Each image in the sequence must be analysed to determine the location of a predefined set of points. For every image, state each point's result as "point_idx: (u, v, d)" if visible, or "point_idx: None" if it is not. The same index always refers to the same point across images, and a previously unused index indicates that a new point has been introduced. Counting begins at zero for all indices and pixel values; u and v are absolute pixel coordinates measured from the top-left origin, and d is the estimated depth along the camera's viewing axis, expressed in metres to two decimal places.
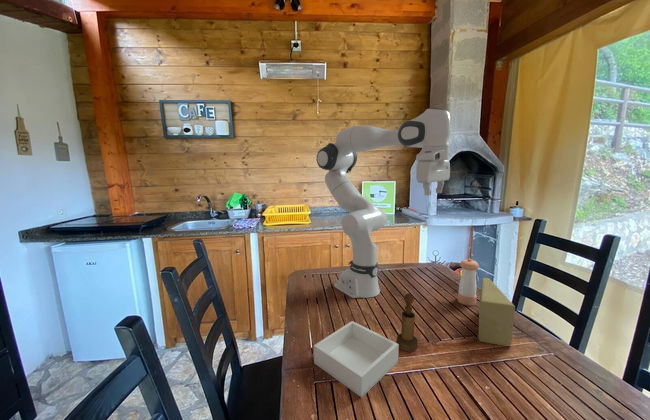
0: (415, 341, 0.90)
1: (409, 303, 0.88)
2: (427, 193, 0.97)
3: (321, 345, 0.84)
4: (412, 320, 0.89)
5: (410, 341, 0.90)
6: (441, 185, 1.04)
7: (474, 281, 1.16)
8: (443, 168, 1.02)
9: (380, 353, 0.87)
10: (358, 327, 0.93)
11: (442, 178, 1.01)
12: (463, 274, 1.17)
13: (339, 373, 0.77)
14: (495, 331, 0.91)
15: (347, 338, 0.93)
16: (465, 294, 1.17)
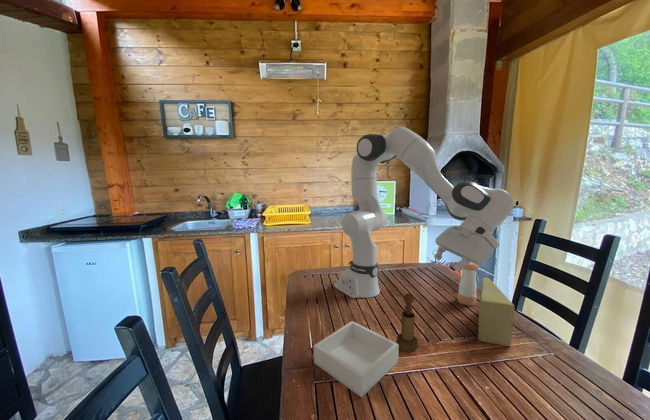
0: (415, 341, 0.90)
1: (409, 303, 0.88)
2: (458, 268, 0.85)
3: (321, 345, 0.84)
4: (412, 320, 0.89)
5: (410, 341, 0.90)
6: (441, 252, 0.95)
7: (474, 281, 1.16)
8: None
9: (380, 353, 0.87)
10: (358, 327, 0.93)
11: None
12: (463, 274, 1.17)
13: (339, 373, 0.77)
14: (494, 330, 0.91)
15: (347, 338, 0.93)
16: (465, 294, 1.17)
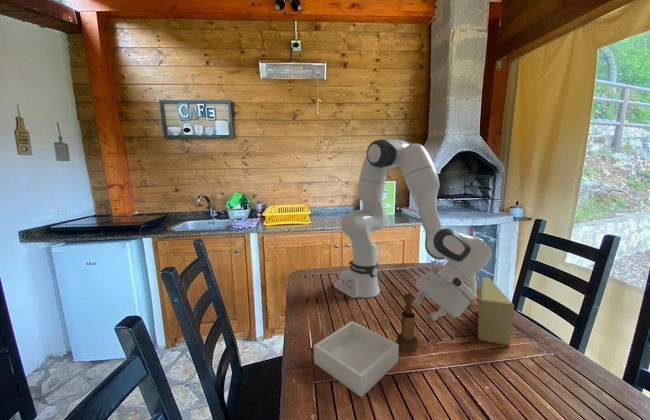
0: (415, 341, 0.90)
1: (409, 303, 0.88)
2: (435, 318, 0.86)
3: (321, 345, 0.84)
4: (412, 320, 0.89)
5: (410, 341, 0.90)
6: (421, 297, 0.97)
7: (474, 281, 1.16)
8: None
9: (380, 353, 0.87)
10: (358, 327, 0.93)
11: None
12: None
13: (339, 373, 0.77)
14: (494, 329, 0.91)
15: (347, 338, 0.93)
16: None
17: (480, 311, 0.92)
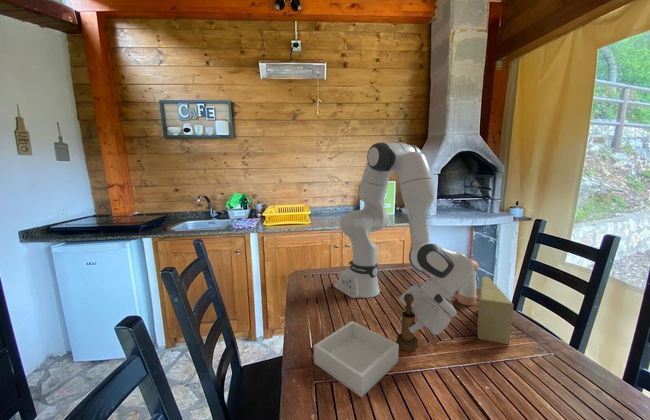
0: (415, 341, 0.90)
1: (409, 303, 0.88)
2: (413, 331, 0.88)
3: (321, 345, 0.84)
4: (412, 320, 0.89)
5: (410, 341, 0.90)
6: None
7: (474, 281, 1.16)
8: None
9: (380, 353, 0.87)
10: (358, 327, 0.93)
11: None
12: None
13: (339, 373, 0.77)
14: (493, 329, 0.92)
15: (347, 338, 0.93)
16: (465, 294, 1.17)
17: (480, 310, 0.93)
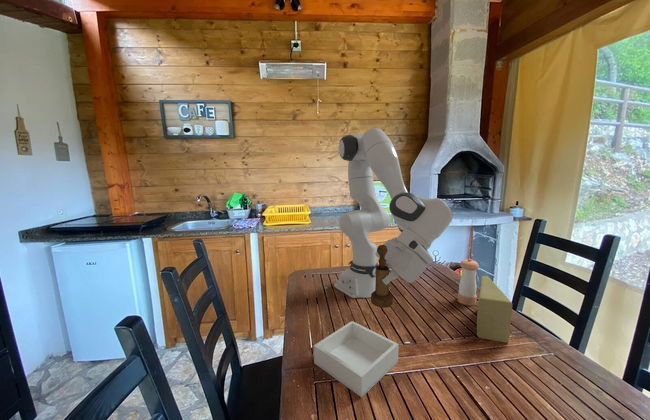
0: (390, 296, 0.83)
1: (382, 254, 0.81)
2: (386, 282, 0.80)
3: (321, 345, 0.84)
4: (386, 273, 0.81)
5: (385, 296, 0.82)
6: None
7: (474, 281, 1.16)
8: None
9: (380, 353, 0.87)
10: (358, 327, 0.93)
11: None
12: (463, 274, 1.17)
13: (339, 373, 0.77)
14: (492, 327, 0.93)
15: (347, 338, 0.93)
16: (465, 294, 1.17)
17: (479, 309, 0.94)
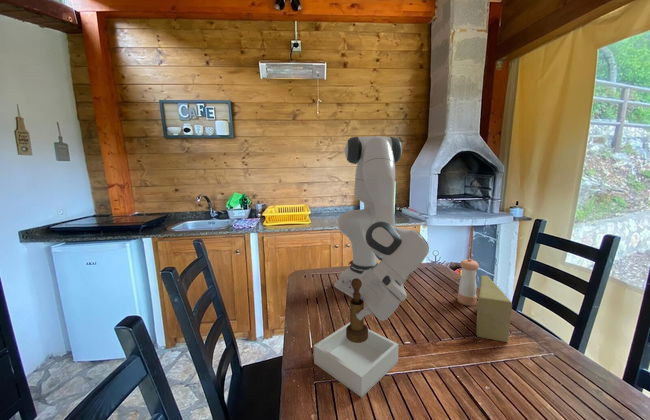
0: (365, 331, 0.81)
1: (356, 289, 0.79)
2: (360, 317, 0.78)
3: (321, 345, 0.84)
4: (360, 308, 0.80)
5: (359, 331, 0.80)
6: None
7: (474, 281, 1.16)
8: None
9: (380, 353, 0.87)
10: None
11: None
12: (463, 274, 1.17)
13: (339, 373, 0.77)
14: (492, 327, 0.93)
15: None
16: (465, 294, 1.17)
17: (478, 308, 0.94)
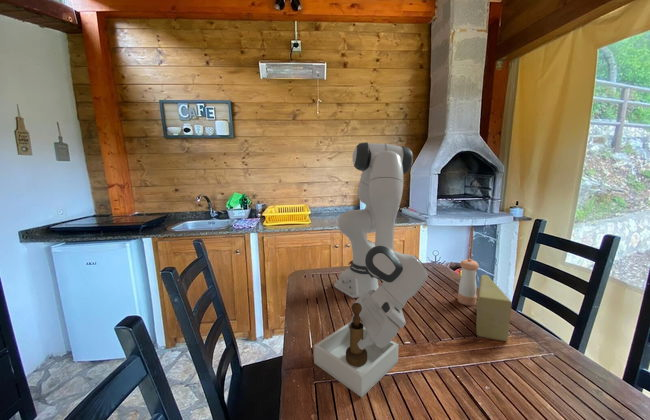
0: (364, 355, 0.82)
1: (356, 313, 0.81)
2: (362, 347, 0.78)
3: (321, 345, 0.84)
4: (360, 332, 0.81)
5: (359, 354, 0.82)
6: None
7: (474, 281, 1.16)
8: None
9: (380, 353, 0.87)
10: None
11: None
12: (463, 274, 1.17)
13: (339, 373, 0.77)
14: (492, 326, 0.94)
15: (347, 338, 0.93)
16: (465, 294, 1.17)
17: (478, 308, 0.95)
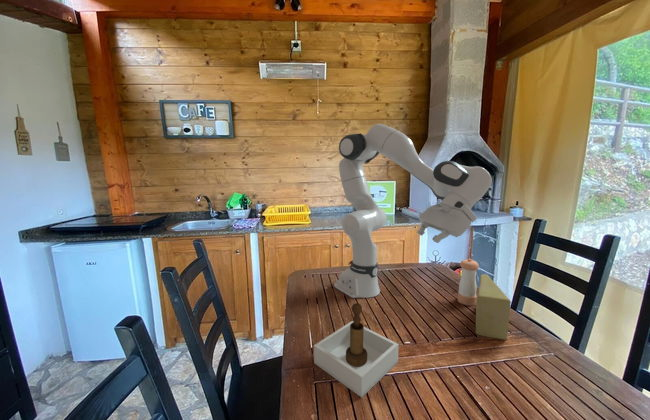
0: (364, 355, 0.82)
1: (357, 314, 0.81)
2: (438, 240, 0.89)
3: (321, 345, 0.84)
4: (360, 332, 0.81)
5: (359, 355, 0.82)
6: (424, 228, 1.00)
7: (474, 281, 1.16)
8: None
9: (380, 353, 0.87)
10: None
11: None
12: (463, 274, 1.17)
13: (339, 373, 0.77)
14: (491, 324, 0.94)
15: (347, 338, 0.93)
16: (465, 294, 1.17)
17: (478, 306, 0.95)
